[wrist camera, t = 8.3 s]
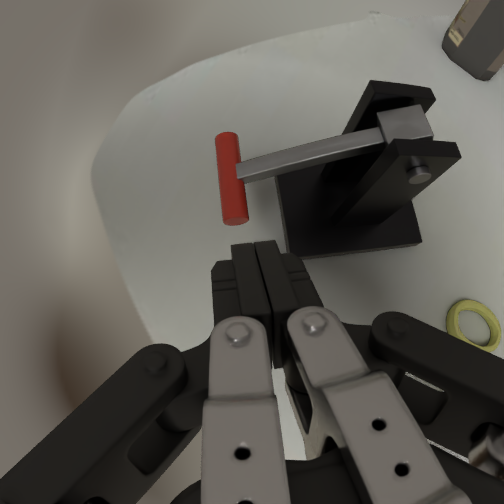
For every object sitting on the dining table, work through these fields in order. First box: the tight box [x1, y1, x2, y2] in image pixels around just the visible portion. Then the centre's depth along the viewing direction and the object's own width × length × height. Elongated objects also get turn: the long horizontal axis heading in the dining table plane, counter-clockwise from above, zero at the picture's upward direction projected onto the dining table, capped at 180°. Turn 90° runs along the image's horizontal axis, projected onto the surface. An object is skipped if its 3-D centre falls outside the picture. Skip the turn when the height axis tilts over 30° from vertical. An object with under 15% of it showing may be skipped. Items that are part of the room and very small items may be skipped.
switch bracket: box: [275, 80, 461, 260], centre depth 21 cm, size 12×9×13 cm
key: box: [446, 300, 501, 352], centre depth 23 cm, size 7×12×2 cm, turn 175°
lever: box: [215, 104, 434, 226], centre depth 18 cm, size 13×6×2 cm, turn 98°
